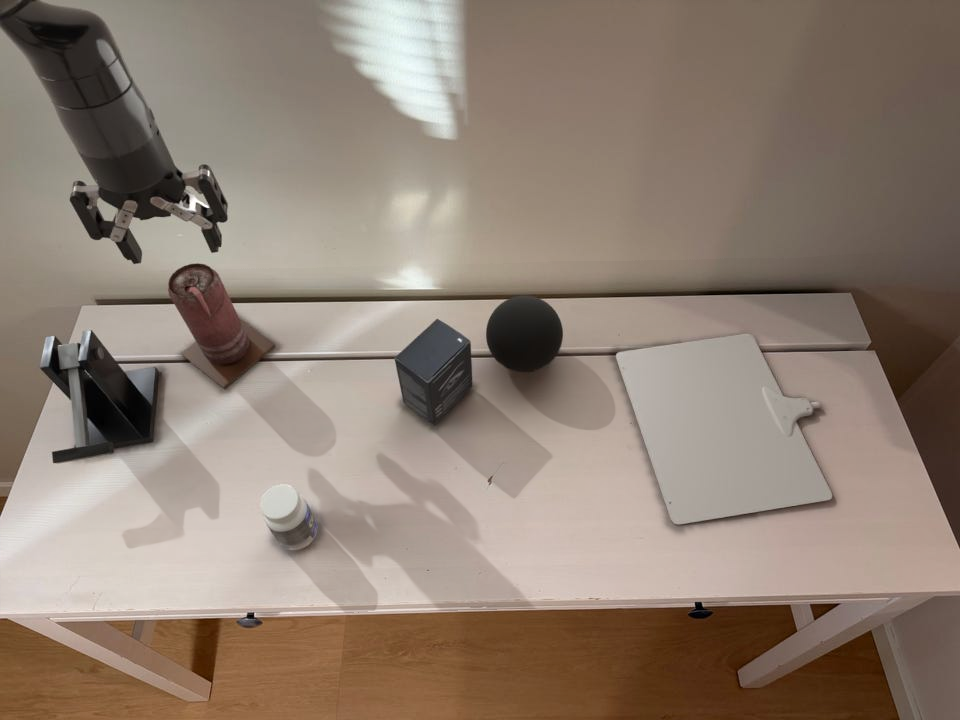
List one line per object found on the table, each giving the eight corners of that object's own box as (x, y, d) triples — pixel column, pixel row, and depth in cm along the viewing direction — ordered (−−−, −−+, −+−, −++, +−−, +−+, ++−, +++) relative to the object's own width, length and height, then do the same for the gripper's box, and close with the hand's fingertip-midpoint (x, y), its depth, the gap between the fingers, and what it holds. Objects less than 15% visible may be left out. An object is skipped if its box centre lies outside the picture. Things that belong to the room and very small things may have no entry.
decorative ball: (493, 322, 94) (494, 274, 86) (563, 333, 93) (571, 285, 85) (479, 380, 88) (478, 334, 80) (553, 392, 87) (560, 347, 79)
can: (219, 375, 88) (180, 307, 77) (197, 346, 91) (156, 277, 80) (259, 351, 91) (227, 281, 79) (236, 324, 93) (202, 253, 82)
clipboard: (864, 496, 78) (868, 491, 77) (671, 527, 77) (674, 523, 76) (777, 331, 93) (780, 326, 92) (613, 355, 91) (614, 350, 90)
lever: (116, 453, 76) (106, 452, 73) (61, 463, 75) (49, 463, 73) (104, 343, 78) (95, 339, 75) (51, 352, 77) (39, 348, 75)
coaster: (224, 389, 88) (223, 387, 87) (182, 356, 91) (180, 353, 90) (276, 346, 92) (275, 344, 91) (233, 315, 95) (232, 313, 95)
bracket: (153, 442, 83) (102, 380, 72) (78, 455, 82) (14, 395, 71) (159, 371, 89) (112, 305, 78) (89, 383, 88) (32, 317, 77)
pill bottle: (325, 536, 76) (309, 506, 69) (287, 559, 74) (267, 531, 68) (307, 504, 78) (290, 472, 71) (270, 525, 77) (249, 495, 70)
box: (442, 365, 90) (438, 315, 81) (474, 388, 88) (473, 338, 79) (401, 404, 86) (392, 355, 77) (433, 428, 84) (427, 381, 75)
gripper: (27, 165, 60) (109, 286, 73) (189, 144, 62) (241, 266, 75) (41, 117, 64) (116, 239, 77) (192, 98, 66) (240, 222, 79)
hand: (177, 253), depth 76 cm, fingers open, 8 cm apart
